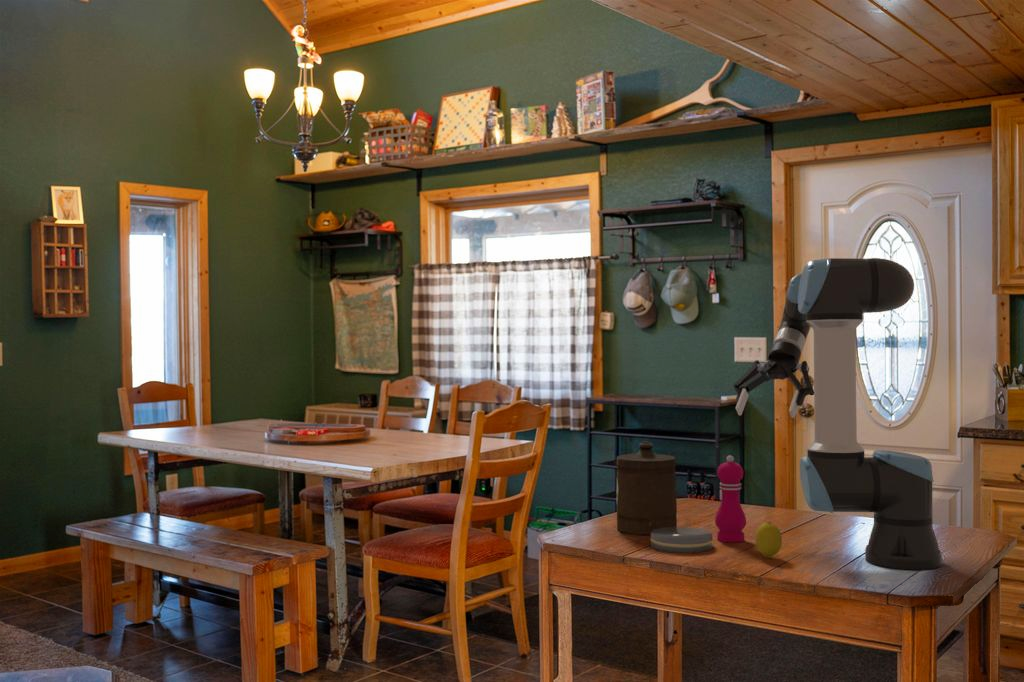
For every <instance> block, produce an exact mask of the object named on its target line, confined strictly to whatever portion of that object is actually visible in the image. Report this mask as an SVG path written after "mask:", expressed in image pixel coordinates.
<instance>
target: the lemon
mask: <svg viewBox="0 0 1024 682" xmlns="http://www.w3.org/2000/svg"><path fill="white" fill-rule="evenodd" d="M780 530H781V529H780V528H779V527H778V526H776V525H775V524H773V522H772V523H771V521H766V523H762V524H761V525H760V526H758V528H757V530H756V534H755V546H756V549H757V550H758V551H759V553H761V554H762V555H764V556H765V558H767V559H771V558H772V557H773V556H774V555H777V554H778V553H779V552H780V550H781V548H782V544H783V541H782V539H783V538H782V537H783V536H782V533H781V531H780Z"/></svg>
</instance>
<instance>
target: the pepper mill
mask: <svg viewBox="0 0 1024 682" xmlns="http://www.w3.org/2000/svg"><path fill="white" fill-rule="evenodd" d="M725 460H726V462H723V463H721V464H720V465H719V466H718V468H717V477H718V479H719V480H720V482H719V489H720V490H721V501H720V504H719V507H718V509H717V511H716V514H715V517H714V525H716V527H717V528H718V531H717V532H716V535H717V536H716V538H717V541H719V542H722V543H735V544H736V543H742V542H744V541H745V533H744V532H743V530H744V528H746V526H747V518H746V514H745V512H744V509H743V507H742V505H741V502H740V501H741V500H740V490H741V489H742V483H741V482H740V481H741V480H742V479H743V477H744V469H743V467H742V466H741V465H740V464H739V463H737V462H734V461H735V457H734V456H732V455H727V457H726V459H725Z"/></svg>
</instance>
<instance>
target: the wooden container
mask: <svg viewBox="0 0 1024 682" xmlns="http://www.w3.org/2000/svg"><path fill="white" fill-rule="evenodd" d="M653 448H654V445H653V443H652V442H650V441H649V440H643V441H641V442H639V451H638V452H637V453H626V454H620V455H617V456H616V530H618V531H620V532H622V533H626V534H631V535H642V536H651V531H652V530H654V529H658V528H664V527H678V526H677V524H678V523H677V522H678V520H677V512H678V507H677V505H678V504H677V487H676V486H677V485H676V484H677V482H676V458H675V456H673V455H669V454H660V453H659V454H658V453H655V452H654V451H653V450H652V449H653Z"/></svg>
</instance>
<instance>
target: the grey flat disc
mask: <svg viewBox="0 0 1024 682" xmlns="http://www.w3.org/2000/svg"><path fill="white" fill-rule="evenodd" d="M650 547H651V548H652V549H655V550H658V551H661V552H662V551H663V552H666V553H667V552H668V553H676V554H677V553H679V554H681V553H682V554H690V553H691V554H693V553H702V552H708V551H710V550H711V549H713V533H712V531H710V530H707V529H704V528H700V527H699V528H698V527H691V526H690V527H688V526H677V527H664V528H658V529H654V530H652V531H651V535H650Z"/></svg>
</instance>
